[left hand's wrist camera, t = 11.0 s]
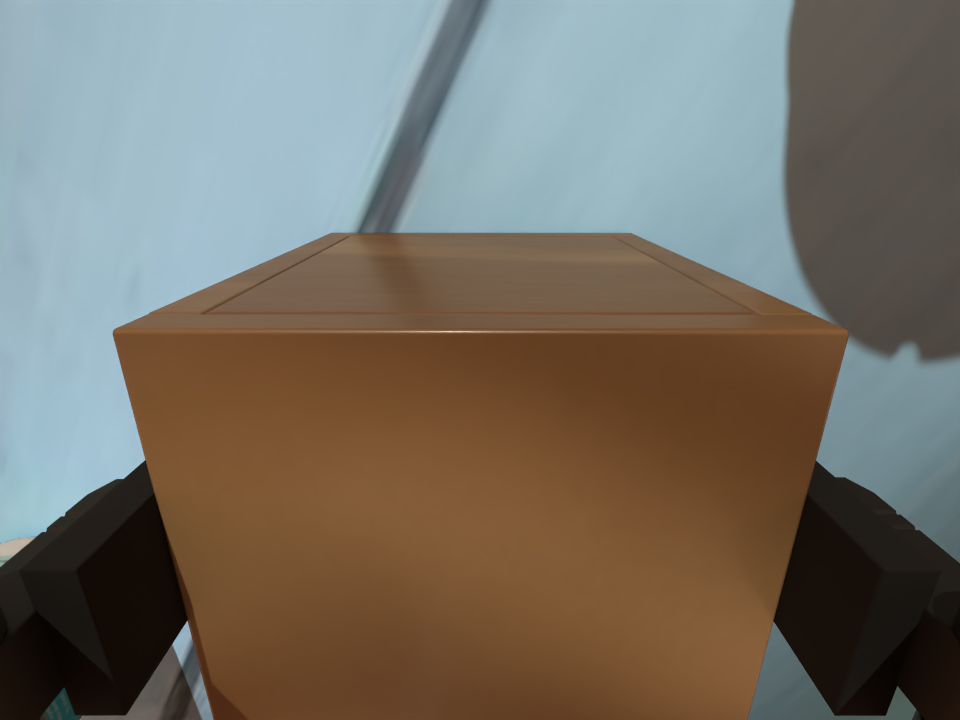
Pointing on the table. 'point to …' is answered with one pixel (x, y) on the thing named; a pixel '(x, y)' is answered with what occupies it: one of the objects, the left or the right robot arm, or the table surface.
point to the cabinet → (480, 476)
